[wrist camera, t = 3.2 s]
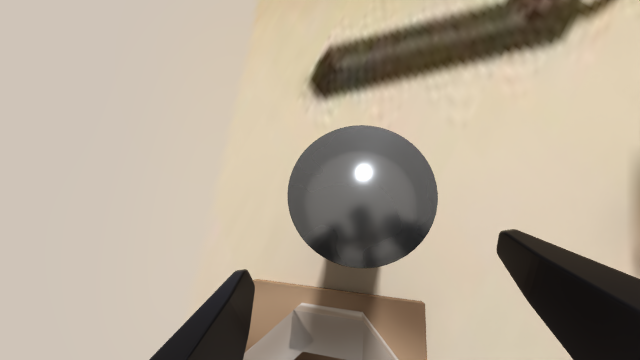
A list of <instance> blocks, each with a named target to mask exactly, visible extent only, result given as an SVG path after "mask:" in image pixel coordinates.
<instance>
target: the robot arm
mask: <svg viewBox="0 0 640 360" xmlns="http://www.w3.org/2000/svg"><path fill="white" fill-rule="evenodd" d="M497 254H498V256H499V258H500V259H501V261H502V262H503V264H504V265H505V267H506V268H507V270H508V272H509V273H510V275H511V276H512V278H513V279H514V281H515V282H516V284H517V286H518V287H519V289H520V290H521V292H522V293H523V295H524V296H525V298H526V299H527V301H528V302H529V303H530V305H531V306H532V307H533V308H534V310H535V311H536V312H537V314H538V315H539V316H540V317H541V319H542V320H543V321H544V323H545V324H546V325H547V326H548V328H549V329H550V330H551V331H552V333H553V334H554V335H555V337H556V338H557V339H558V340H559V342H560V343H561V344H562V346H563V347H564V348H565V349H566V351H567V352H568V353H569V354H570V356H571V357H572V358H573V360H640V279H638V278H636V277H633V276H631V275H628V274H626V273H623V272H621V271H618V270H616V269H613V268H611V267H608V266H606V265H603V264H601V263H598V262H596V261H593V260H591V259H588V258H586V257H583V256H581V255H578V254H576V253H573V252H571V251H568V250H566V249H563V248H561V247H558V246H556V245H553V244H551V243H548V242H546V241H543V240H541V239H538V238H536V237H533V236H531V235H528V234H526V233H523V232H521V231H518V230H515V229H511V230H504V231H501V232H500V233H499V238H498V243H497ZM254 294H255V285H254V282H253V280H252V278H251V276H250V274H249V272H248V270H246V269H244V270H237V271H235V272H234V273H233V274H232V275H231V276H230V277H229V278H228V279H227V280H226V281H225V282H224V283H223V284H222V285H221V286H220V287H219V288H218V289H217V290H216V291H215V293H214V294H213V295H212V296H211V297H210V298H209V299H208V300H207V301H206V302H205V303H204V304H203V305H202V306H201V307H200V308H199V309H198V310H197V311H196V312H195V313H194V314H193V315H192V316H191V317H190V318H189V319H188V320H187V321H186V322H185V323H184V325H183V326H182V327H181V328H180V329H179V330H178V331H177V332H176V333H175V334H174V335H173V336H172V337H171V338H170V339H169V340H168V341H167V342H166V343H165V344H164V345H163V346H162V347H161V348H160V349H159V350H158V351H157V352H156V354H154V355H153V356H152V357H151V359H150V360H243V358H244V353H245V349H246V345H247V340H248V336H249V330H250V324H251V316H252V309H253V301H254Z"/></svg>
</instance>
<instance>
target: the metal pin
mask: <svg viewBox="0 0 640 360" xmlns="http://www.w3.org/2000/svg"><path fill="white" fill-rule="evenodd" d="M437 203H438V193H437V185H436V181H435V178H434V174H433V172H432V170H431V167H430V165H429V164H428V162H427V160H426V159H425V157H424V156H423V155H422V154H421V152H420V151H419V150H418V149H417V148H416V147H415V146H414V145H413V144H412V143H410V142H409V141H408V140H406V139H405V138H403V137H402V136H400V135H398V134H396V133H394V132H392V131H389V130H386V129H383V128H379V127H374V126H363V125H361V126H349V127H344V128H340V129H337V130H334V131H332V132H329V133H327V134H325V135H324V136H322V137H320V138H319V139H317V140H316V141H315V142H313V143H312V144H311V145H310V146H309V147H308V148H307V149H306V150H305V151H304V152H303V153H302V155H301V156H300V158H299V159H298V161H297V162H296V164H295V166H294V168H293V171H292V174H291V176H290V181H289V185H288V206H289V211H290V215H291V218H292V221H293V223H294V225H295V227H296V229H297V231H298V233H299V234H300V236H301V237H302V239H303V240H304V241H305V242H306V243H307V244H308V245H309V246H310V247H311V248H312V249H313V250H314V251H315V252H317V253H318V254H320V255H321V256H323V257H324V258H326V259H328V260H330V261H332V262H334V263H338V264H341V265H344V266H349V267H354V268H373V267H379V266H383V265H387V264H390V263H392V262H395V261H397V260H399V259H401V258H403V257H404V256H406V255H408V254H409V253H410V252H411V251H413V250H414V249H415V248H416V247H417V246H418V245H419V244H420V243H421V242H422V241H423V239H424V238H425V236H426V235H427V233H428V232H429V230H430V228H431V226H432V224H433V221H434V218H435V215H436V210H437Z"/></svg>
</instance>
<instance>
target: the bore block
mask: <svg viewBox="0 0 640 360" xmlns="http://www.w3.org/2000/svg"><path fill="white" fill-rule="evenodd" d="M253 282H254V285H255V294H254V301H253V309H252V316H251V324H250V330H249V336H248V340H247V345H246V349H245V353H244V358H243V360H427V348H426V321H425V304H424V303H423V302H422V301H415V300H407V299H400V298H392V297H385V296H378V295H370V294H363V293H355V292H348V291H341V290H333V289H326V288H318V287H311V286H304V285H296V284H289V283H281V282H274V281H267V280H259V279H256V280H253Z"/></svg>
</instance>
